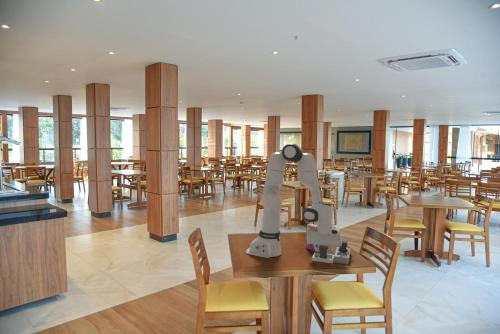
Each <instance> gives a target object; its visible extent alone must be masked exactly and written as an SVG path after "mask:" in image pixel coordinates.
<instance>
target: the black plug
mask: <svg viewBox="0 0 500 334" xmlns="http://www.w3.org/2000/svg"><path fill="white" fill-rule="evenodd" d="M319 250H320V252H319V253H320V258H324V259H327V254H328V251H329V245H320V246H319Z"/></svg>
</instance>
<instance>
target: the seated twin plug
mask: <svg viewBox="0 0 500 334" xmlns="http://www.w3.org/2000/svg"><path fill="white" fill-rule="evenodd" d="M348 242H349V241H348V240H343V239H342V245H341V246H339V247H340V249H339V251H342V252H347V248H348Z"/></svg>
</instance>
